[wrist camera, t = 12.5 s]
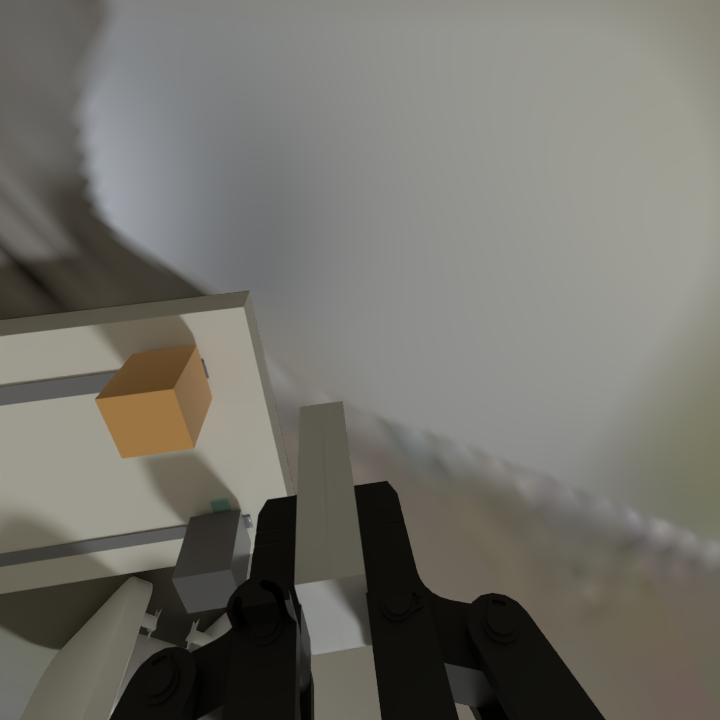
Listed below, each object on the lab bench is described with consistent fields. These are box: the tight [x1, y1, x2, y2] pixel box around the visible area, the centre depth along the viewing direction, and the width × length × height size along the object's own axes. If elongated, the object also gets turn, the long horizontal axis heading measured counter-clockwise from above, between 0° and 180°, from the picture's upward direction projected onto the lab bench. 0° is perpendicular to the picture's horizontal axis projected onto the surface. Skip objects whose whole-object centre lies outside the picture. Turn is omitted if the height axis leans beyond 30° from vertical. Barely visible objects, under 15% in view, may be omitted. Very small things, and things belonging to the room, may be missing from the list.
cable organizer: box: [20, 576, 232, 720], centre depth 28 cm, size 15×11×12 cm
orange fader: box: [95, 346, 212, 459], centre depth 19 cm, size 3×3×4 cm
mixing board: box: [0, 291, 294, 594], centre depth 24 cm, size 22×17×3 cm
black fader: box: [172, 509, 251, 614], centre depth 24 cm, size 3×3×4 cm
